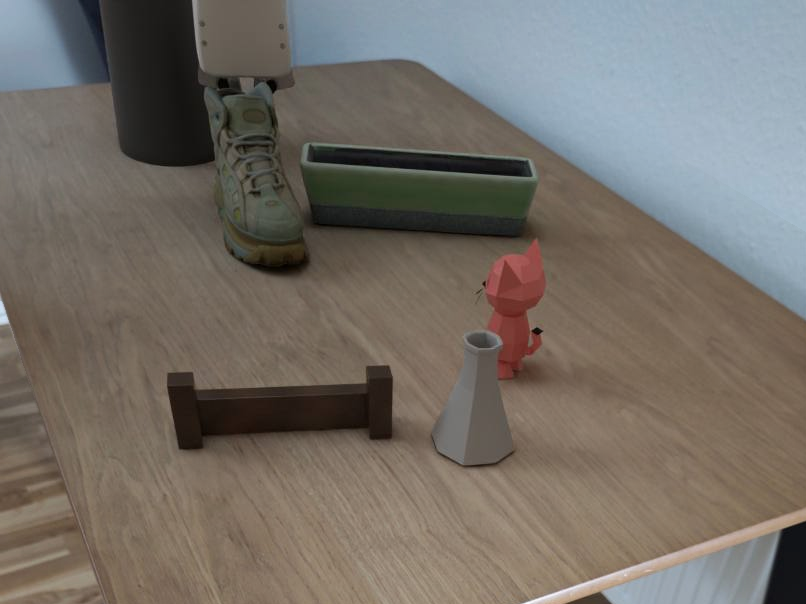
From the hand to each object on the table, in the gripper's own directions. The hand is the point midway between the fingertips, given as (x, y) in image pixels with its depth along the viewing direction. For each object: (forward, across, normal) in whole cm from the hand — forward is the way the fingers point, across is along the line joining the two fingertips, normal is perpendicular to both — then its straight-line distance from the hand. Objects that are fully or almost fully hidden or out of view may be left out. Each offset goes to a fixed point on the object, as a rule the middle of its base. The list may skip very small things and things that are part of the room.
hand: (252, 141), depth 106 cm
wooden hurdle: (+6, 0, +50) cm, 50 cm away
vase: (+6, +10, -16) cm, 20 cm away
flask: (+6, -16, +54) cm, 56 cm away
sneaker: (+6, 0, +12) cm, 13 cm away
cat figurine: (+6, -22, +42) cm, 47 cm away
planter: (+7, -19, +8) cm, 21 cm away
